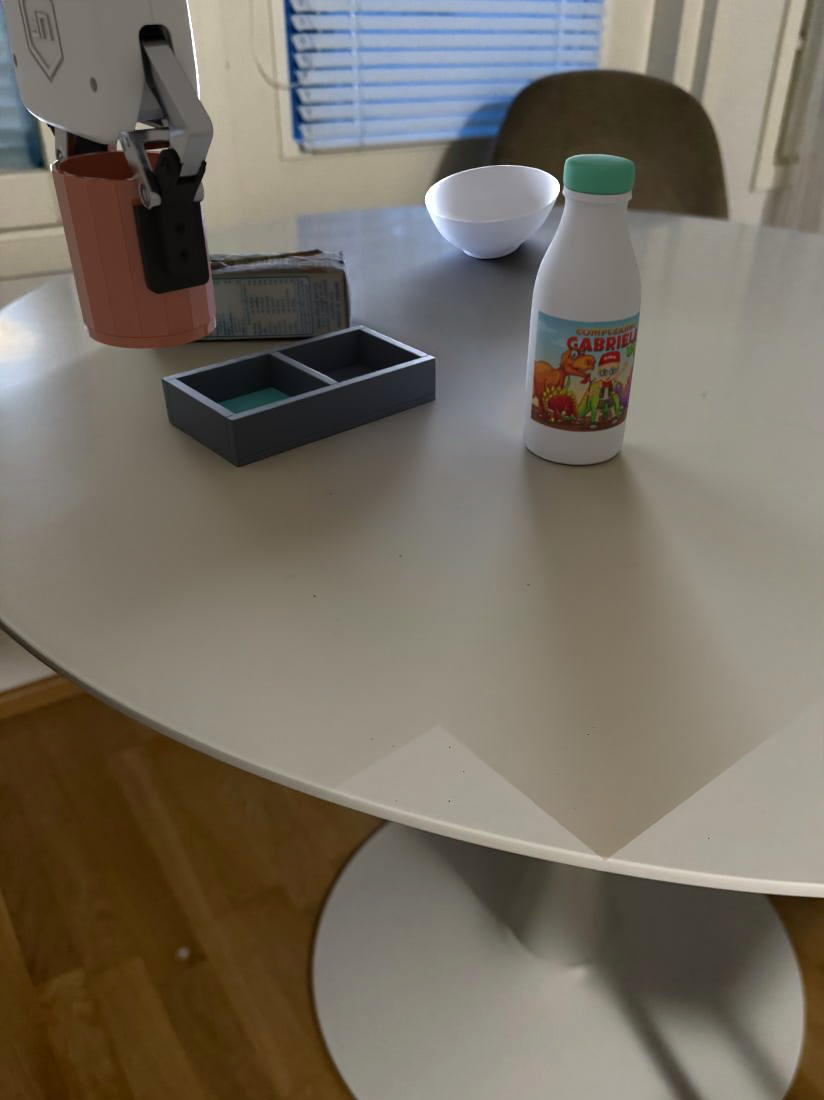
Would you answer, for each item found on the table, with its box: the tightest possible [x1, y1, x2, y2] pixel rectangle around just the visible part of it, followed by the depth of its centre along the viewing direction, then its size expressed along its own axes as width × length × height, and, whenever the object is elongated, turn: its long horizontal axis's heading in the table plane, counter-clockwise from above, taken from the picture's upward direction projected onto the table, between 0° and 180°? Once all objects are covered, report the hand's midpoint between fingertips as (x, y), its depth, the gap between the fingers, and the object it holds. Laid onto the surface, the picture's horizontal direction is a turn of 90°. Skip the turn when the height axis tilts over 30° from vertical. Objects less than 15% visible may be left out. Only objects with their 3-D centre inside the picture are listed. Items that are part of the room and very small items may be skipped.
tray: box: [161, 324, 437, 467], centre depth 76 cm, size 10×19×4 cm, turn 133°
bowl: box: [424, 164, 560, 260], centre depth 116 cm, size 30×15×6 cm, turn 167°
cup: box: [50, 149, 217, 350], centre depth 49 cm, size 7×7×8 cm
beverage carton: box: [197, 248, 353, 341], centre depth 90 cm, size 8×19×7 cm, turn 98°
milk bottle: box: [522, 153, 642, 466], centre depth 67 cm, size 8×8×20 cm
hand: (142, 265), depth 50 cm, fingers closed on cup, 6 cm apart
